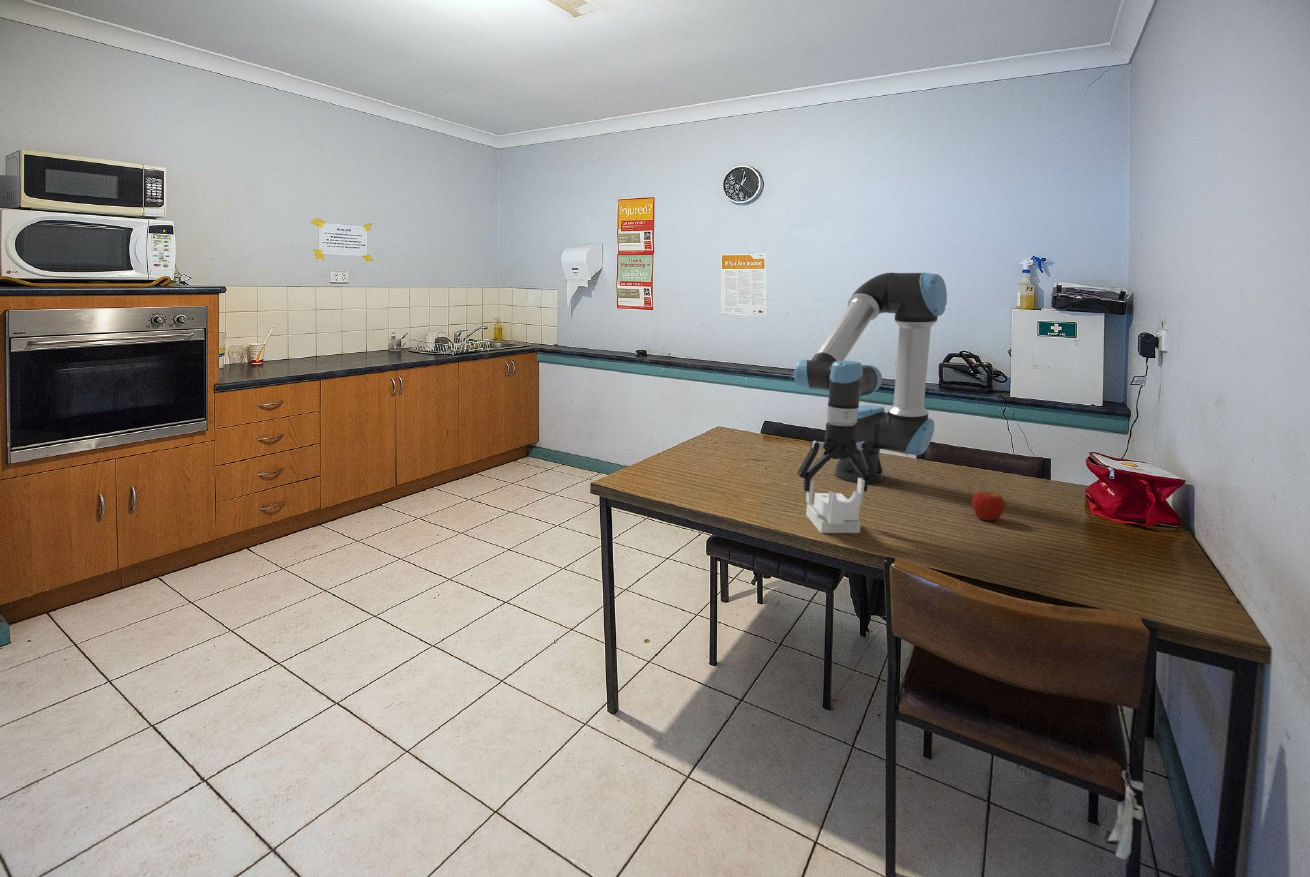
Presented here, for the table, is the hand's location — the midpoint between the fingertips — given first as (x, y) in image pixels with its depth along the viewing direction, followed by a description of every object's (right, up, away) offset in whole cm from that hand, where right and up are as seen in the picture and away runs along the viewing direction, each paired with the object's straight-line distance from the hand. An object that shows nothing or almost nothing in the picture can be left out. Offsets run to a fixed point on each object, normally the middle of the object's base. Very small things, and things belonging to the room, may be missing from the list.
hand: (833, 503), depth 171 cm
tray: (0, -5, +1) cm, 6 cm away
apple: (+43, -5, +8) cm, 45 cm away
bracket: (0, -3, -1) cm, 3 cm away
